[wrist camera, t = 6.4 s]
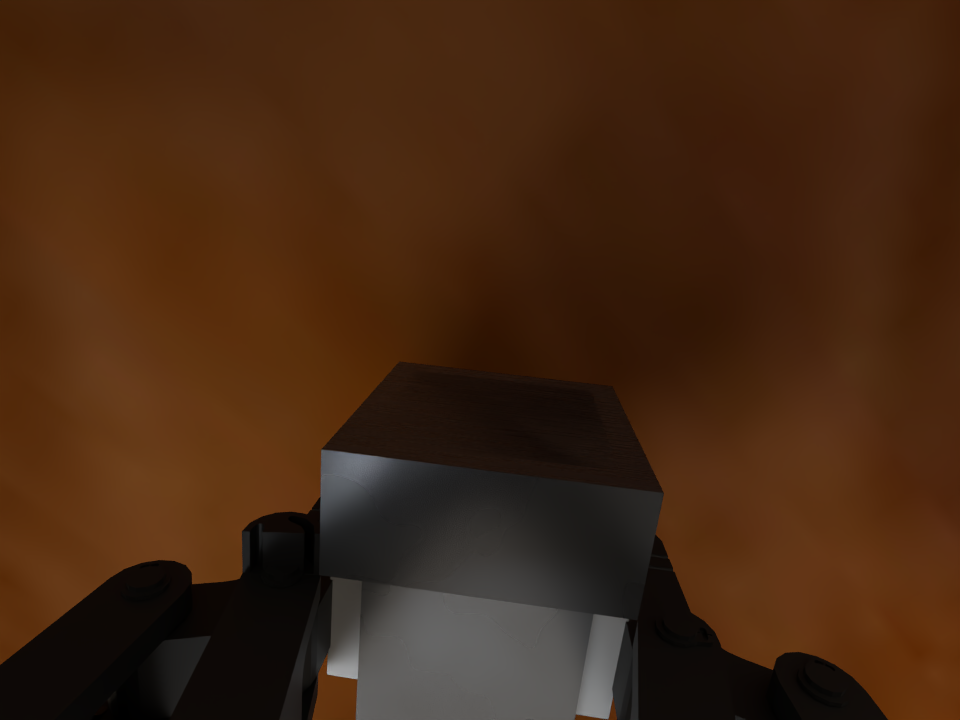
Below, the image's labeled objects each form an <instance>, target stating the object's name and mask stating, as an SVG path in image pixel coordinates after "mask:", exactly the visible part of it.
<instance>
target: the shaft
mask: <svg viewBox="0 0 960 720" xmlns="http://www.w3.org/2000/svg"><path fill="white" fill-rule="evenodd" d="M663 494H664V493H663V491H662V488H661V486H660V484H659V482H658V480H657V478H656V476H655V474H654V472H653V470H652V468H651V466H650V464H649V462H648V459H647V457H646V455H645V453H644V451H643V449H642V447H641V445H640V443H639V441H638V439H637V437H636V435H635V432H634V430H633V428H632V426H631V424H630V422H629V420H628V418H627V416H626V414H625V412H624V410H623V408H622V406H621V403H620V401H619V399H618V397H617V395H616V393H615V391H614V389H613V387H612V386H605V385H596V384H588V383H579V382H570V381H562V380H553V379H545V378H536V377H528V376H519V375H510V374H502V373H493V372H485V371H476V370H467V369H459V368H450V367H442V366H433V365H425V364H416V363H407V362H399V363H398V364H397V365H396V366H395V367H394V368H393V370H392V371H391V372H390V373H389V374H388V375H387V376H386V377H385V379H384V380H383V381H382V382H381V383H380V384H379V385H378V386H377V388H376V389H375V390H374V391H373V392H372V393H371V394H370V395H369V397H368V398H367V399H366V400H365V401H364V402H363V403H362V404H361V406H360V407H359V408H358V409H357V410H356V411H355V412H354V413H353V415H352V416H351V417H350V418H349V419H348V420H347V421H346V422H345V424H344V425H343V426H342V427H341V428H340V429H339V430H338V431H337V433H336V434H335V435H334V436H333V437H332V438H331V439H330V440H329V442H328V443H327V444H326V445H325V446H324V447H323V448H322V449H321V502H320V556H319V575H322V576H329V577H336V578H343V579H350V580H357V581H362V590H361V613H360V637H359V660H358V683H357V706H356V720H575V714H576V709H577V703H578V698H579V692H580V687H581V681H582V675H583V670H584V664H585V659H586V653H587V648H588V642H589V636H590V631H591V625H592V620H593V614H597V615H604V616H611V617H618V618H625V619H632V620H638V616H639V611H640V606H641V601H642V596H643V591H644V587H645V582H646V577H647V572H648V567H649V562H650V557H651V553H652V548H653V543H654V538H655V533H656V528H657V523H658V519H659V514H660V509H661V504H662V499H663Z"/></svg>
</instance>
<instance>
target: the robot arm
mask: <svg viewBox="0 0 960 720" xmlns="http://www.w3.org/2000/svg"><path fill="white" fill-rule="evenodd" d="M320 502H321V497H320V498H319V499H318V501H317V502H316V503H315V505H314V506H313V507H312V510H310V511H309V513H308V514H303V513H297V512H280V513H274V514H270V515H266V516H262V517H260V518H258V519H256V520H255V521H253V522H251V523H249V524H248V526H247V527H246V528H245V529H244V530H243V531H242V557H243V574H242V576H241V578H240V579H237V580H233V581H226V582H216V583H203V584H192V573H191V571H190V570H189V569H188V568H187V566H186V565H183V564H181V563H178V562H175V561H165V560H157V561H151V562H145V563H140V564H138V565H135V566H132V567H129V568H126V569H124V570H122V571H121V572H119V573H118V574H116V575H114V576H113V577H111V578H110V579H108V580H107V581H106V582H104V583H103V584H102V585H101V586H99V587H98V588H97V589H96V590H94V591H93V592H92V593H91V594H89V595H88V596H87V597H86V598H84V599H83V600H82V601H80V602H79V603H78V604H77V605H75V606H74V607H73V608H72V609H70V610H69V611H68V612H67V613H65V614H64V615H63V616H62V617H60V618H59V619H58V620H57V621H55V622H54V623H53V624H51V625H50V626H49V627H48V628H46V629H45V630H44V631H43V632H41V633H40V634H39V635H38V636H36V637H35V638H34V639H33V640H31V641H30V642H29V643H27V644H26V645H25V646H24V647H22V648H21V649H20V650H19V651H17V652H16V653H15V654H14V655H12V656H11V657H10V658H9V659H7V660H6V661H5V662H3V663H2V664H1V665H0V720H312V717H313V712H314V708H315V703H316V699H317V692H318V672H319V670H320V668H321V666H322V664H323V661H324V659H325V657H326V655H327V653H328V664H327V674H328V675H334V676H340V677H346V678H353V679H358V660H359V637H360V613H361V590H362V581H357V580H350V579H343V578H336V577H329V576H322V575H319V556H320ZM613 697H614V703H615V709H616V714H617V720H888V719H887V718H886V716H885V715H884V714H883V713H882V711H881V710H880V709H879V707H878V706H877V705H876V703H875V702H874V701H873V700H872V698H871V697H870V696H869V694H868V693H867V692H866V691H865V690H864V688H863V687H862V686H861V685H860V684H859V683H858V682H857V681H856V680H855V679H854V678H853V677H852V676H850V675H849V674H847V673H846V672H844V671H843V670H842V669H840V668H839V667H837V666H836V665H834V664H832V663H830V662H828V661H826V660H824V659H821V658H819V657H817V656H813V655H809V654H805V653H801V652H792V653H784V654H783V655H781V656H780V657H778V658H777V659H776V662H775V666H774V669H773V670H771V669H768V668H766V667H763V666H761V665H758V664H755V663H753V662H750V661H747V660H745V659H742V658H740V657H738V656H735V655H733V654H731V653H729V652H727V651H725V650H724V649H722V648H721V645H720V642H719V640H718V638H717V636H716V633H715V632H714V631H713V630H712V629H711V628H710V627H709V626H708V624H707V623H706V622H705V621H703V620H702V619H700V618H699V617H697V616H695V615H694V614H692V613H691V612H690V609H689V607H688V604H687V602H686V599H685V597H684V594H683V592H682V590H681V587H680V585H679V582H678V580H677V577H676V575H675V572H673V567H672V565H671V562H670V560H669V559H668V555H667V553H666V550H665V548H664V545H663V543H662V541H661V540H660V539H659V538H658V537H657V536H656V535H655V538H654V543H653V548H652V553H651V557H650V562H649V567H648V572H647V577H646V582H645V587H644V591H643V596H642V601H641V606H640V611H639V616H638V620H632V619H625V618H618V617H611V616H604V615H597V614H593V620H592V625H591V631H590V636H589V642H588V648H587V653H586V659H585V664H584V670H583V675H582V681H581V687H580V692H579V698H578V703H577V709H576V714H578V715H584V716H591V717H597V718H603V719H608V718H609V713H610V708H611V704H612V699H613Z"/></svg>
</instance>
